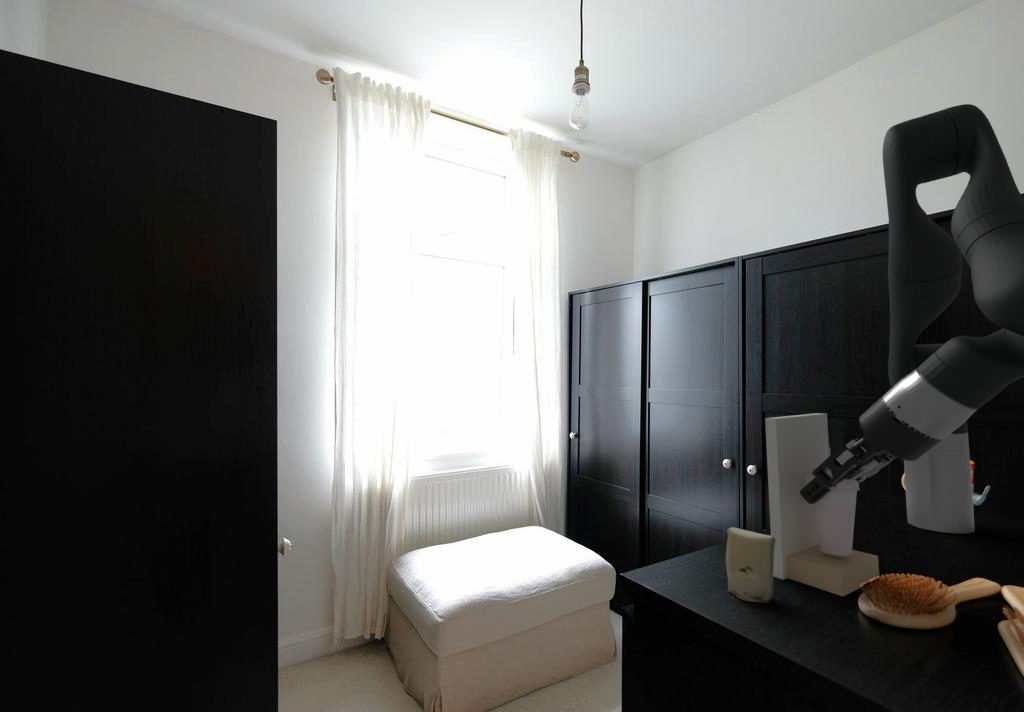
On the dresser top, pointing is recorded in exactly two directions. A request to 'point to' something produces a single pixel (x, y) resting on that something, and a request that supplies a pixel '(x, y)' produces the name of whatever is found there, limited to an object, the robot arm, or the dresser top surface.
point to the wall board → (805, 509)
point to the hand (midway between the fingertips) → (819, 494)
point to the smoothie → (835, 517)
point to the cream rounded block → (750, 565)
